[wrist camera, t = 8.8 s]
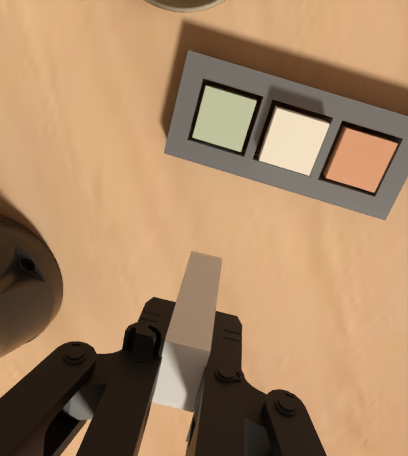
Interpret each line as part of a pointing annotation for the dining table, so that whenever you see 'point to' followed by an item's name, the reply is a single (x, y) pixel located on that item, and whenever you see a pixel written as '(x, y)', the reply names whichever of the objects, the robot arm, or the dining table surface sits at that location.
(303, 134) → the cream key
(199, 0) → the flower pot
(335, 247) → the dining table surface
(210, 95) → the sage key
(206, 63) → the keyguard
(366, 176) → the peach key
